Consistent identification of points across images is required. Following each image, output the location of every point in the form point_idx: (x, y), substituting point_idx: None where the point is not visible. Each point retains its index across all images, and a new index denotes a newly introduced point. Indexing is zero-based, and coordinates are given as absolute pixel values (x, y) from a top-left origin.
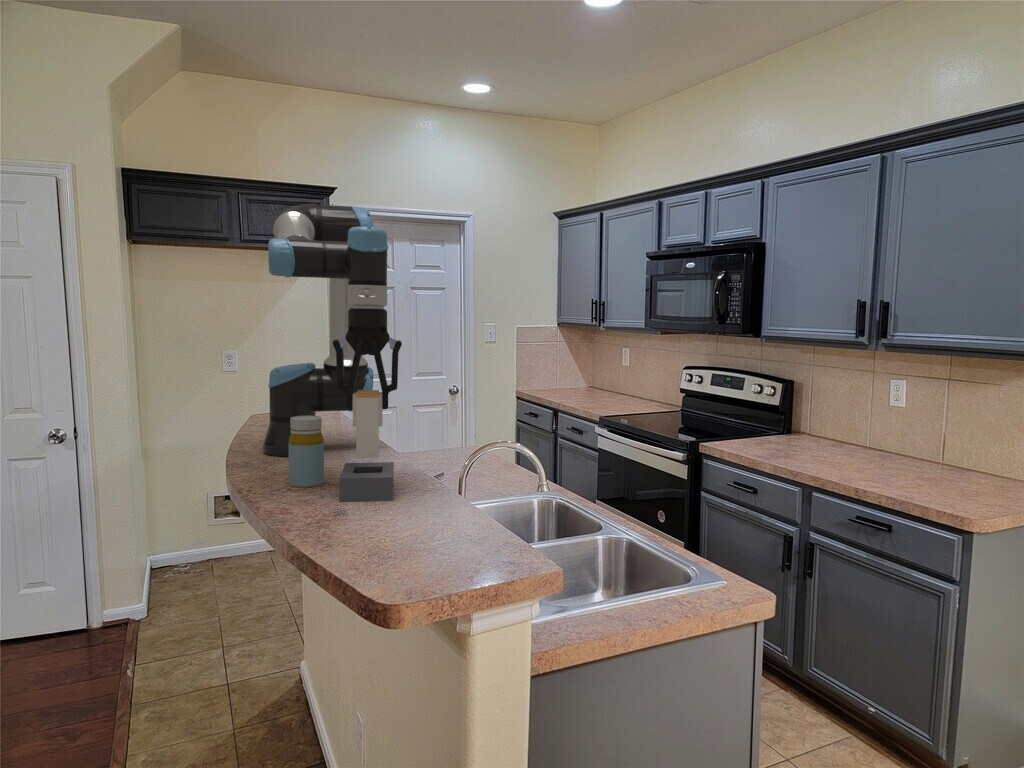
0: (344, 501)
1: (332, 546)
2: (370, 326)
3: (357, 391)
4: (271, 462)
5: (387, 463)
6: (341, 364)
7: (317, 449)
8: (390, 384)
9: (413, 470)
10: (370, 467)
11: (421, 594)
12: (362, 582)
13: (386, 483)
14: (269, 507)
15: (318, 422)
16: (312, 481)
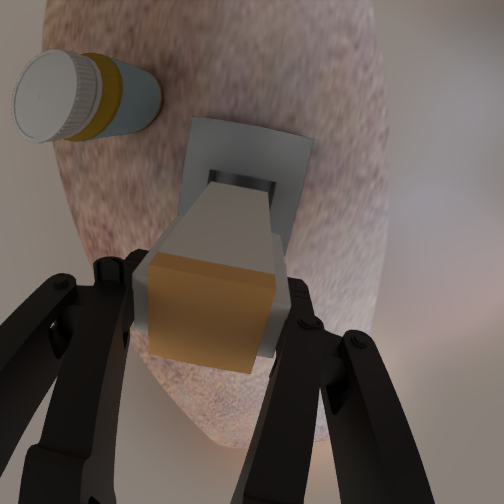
0: None
1: (181, 377)
2: None
3: (151, 322)
4: None
5: (295, 150)
6: (22, 420)
7: (112, 128)
8: (334, 359)
9: (372, 13)
10: (247, 175)
11: (242, 445)
12: (207, 429)
13: None
14: (87, 217)
15: (75, 116)
16: (134, 131)
